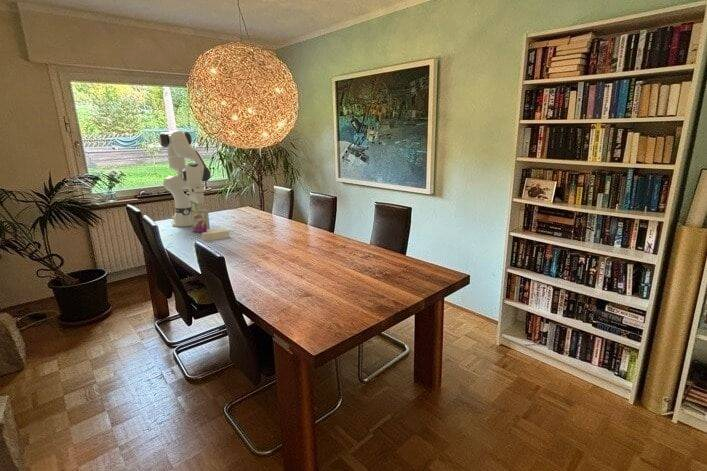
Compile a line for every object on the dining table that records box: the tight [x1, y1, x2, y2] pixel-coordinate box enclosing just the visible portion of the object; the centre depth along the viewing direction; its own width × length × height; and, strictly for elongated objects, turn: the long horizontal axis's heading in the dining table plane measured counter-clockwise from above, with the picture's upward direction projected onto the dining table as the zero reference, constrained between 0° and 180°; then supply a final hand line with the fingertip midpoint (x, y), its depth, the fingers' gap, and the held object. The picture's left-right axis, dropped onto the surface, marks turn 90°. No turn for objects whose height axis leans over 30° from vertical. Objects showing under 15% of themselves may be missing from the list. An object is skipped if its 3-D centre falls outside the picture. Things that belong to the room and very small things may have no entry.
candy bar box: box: [191, 209, 211, 233], centre depth 263 cm, size 11×5×16 cm, turn 84°
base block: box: [207, 226, 230, 241], centre depth 254 cm, size 12×12×5 cm
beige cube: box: [201, 232, 213, 242], centre depth 245 cm, size 5×5×5 cm
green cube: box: [191, 203, 204, 212], centre depth 242 cm, size 5×5×5 cm
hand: (197, 208), depth 243 cm, fingers closed on green cube, 5 cm apart
